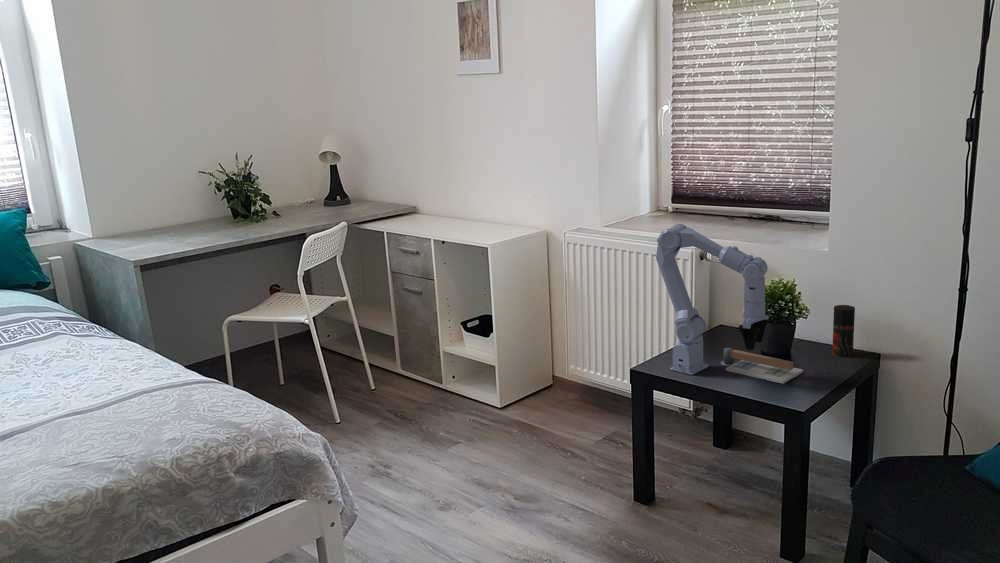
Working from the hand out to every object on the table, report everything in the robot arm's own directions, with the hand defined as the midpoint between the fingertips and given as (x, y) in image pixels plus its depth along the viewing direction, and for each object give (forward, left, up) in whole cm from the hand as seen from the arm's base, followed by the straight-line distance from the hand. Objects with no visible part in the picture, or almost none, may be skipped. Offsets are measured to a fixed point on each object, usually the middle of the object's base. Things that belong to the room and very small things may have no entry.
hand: (754, 345), depth 238 cm
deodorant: (+33, -11, -10) cm, 37 cm away
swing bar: (+5, +2, -9) cm, 11 cm away
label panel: (+5, +2, -9) cm, 11 cm away
